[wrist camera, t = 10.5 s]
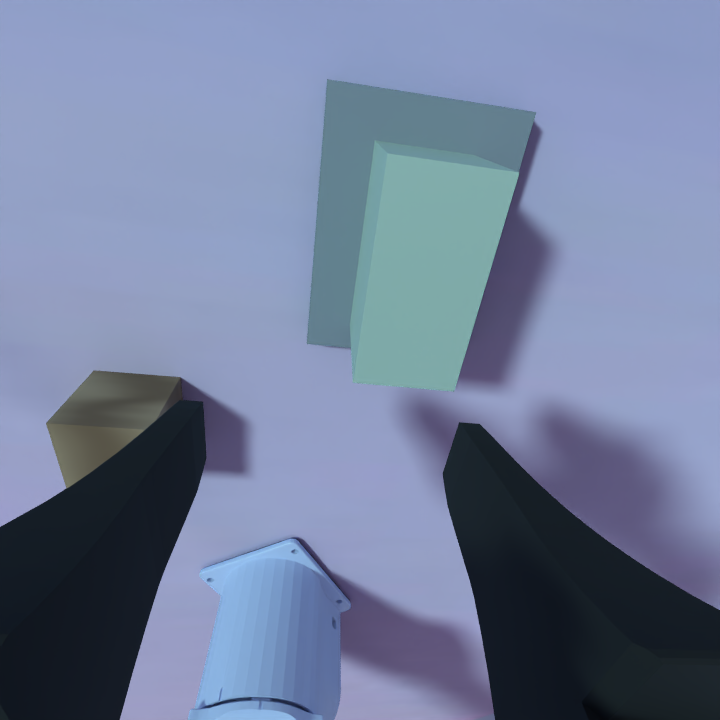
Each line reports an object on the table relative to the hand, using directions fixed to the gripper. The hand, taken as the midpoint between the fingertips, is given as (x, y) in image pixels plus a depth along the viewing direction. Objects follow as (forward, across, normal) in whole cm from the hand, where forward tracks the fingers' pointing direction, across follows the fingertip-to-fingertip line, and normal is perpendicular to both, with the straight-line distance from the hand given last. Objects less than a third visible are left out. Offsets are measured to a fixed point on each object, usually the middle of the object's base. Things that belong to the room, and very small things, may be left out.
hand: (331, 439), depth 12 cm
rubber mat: (+10, -3, -3) cm, 11 cm away
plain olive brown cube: (+10, +10, +8) cm, 16 cm away
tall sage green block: (+9, -3, -3) cm, 10 cm away
